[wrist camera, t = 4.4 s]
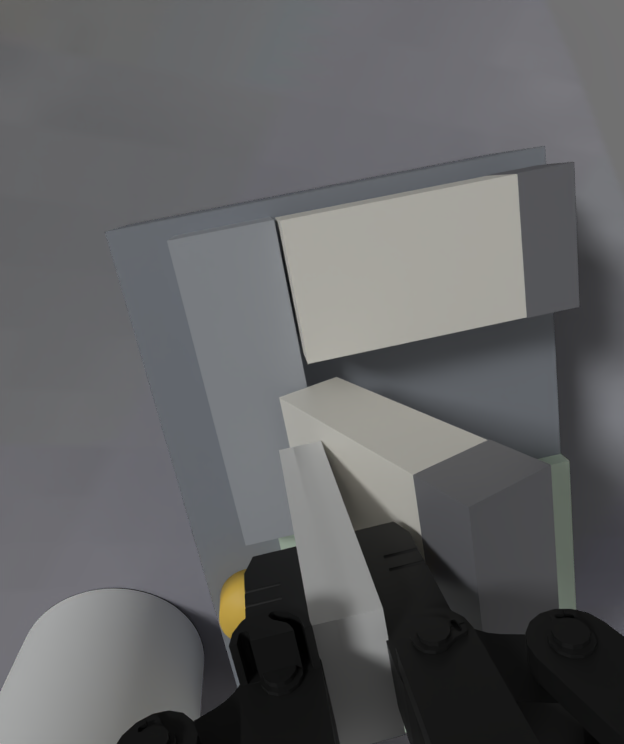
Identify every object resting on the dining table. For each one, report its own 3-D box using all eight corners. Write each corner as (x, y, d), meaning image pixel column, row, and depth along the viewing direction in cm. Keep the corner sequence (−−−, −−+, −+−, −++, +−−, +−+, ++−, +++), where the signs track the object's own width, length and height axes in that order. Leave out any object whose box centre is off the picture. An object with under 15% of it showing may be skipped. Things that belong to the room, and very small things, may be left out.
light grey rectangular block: (303, 513, 18) (488, 683, 11) (278, 396, 17) (468, 507, 10) (357, 489, 19) (560, 633, 12) (336, 375, 18) (550, 465, 11)
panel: (255, 680, 28) (260, 832, 22) (128, 224, 21) (78, 239, 15) (528, 613, 29) (614, 739, 22) (492, 153, 22) (602, 137, 15)
